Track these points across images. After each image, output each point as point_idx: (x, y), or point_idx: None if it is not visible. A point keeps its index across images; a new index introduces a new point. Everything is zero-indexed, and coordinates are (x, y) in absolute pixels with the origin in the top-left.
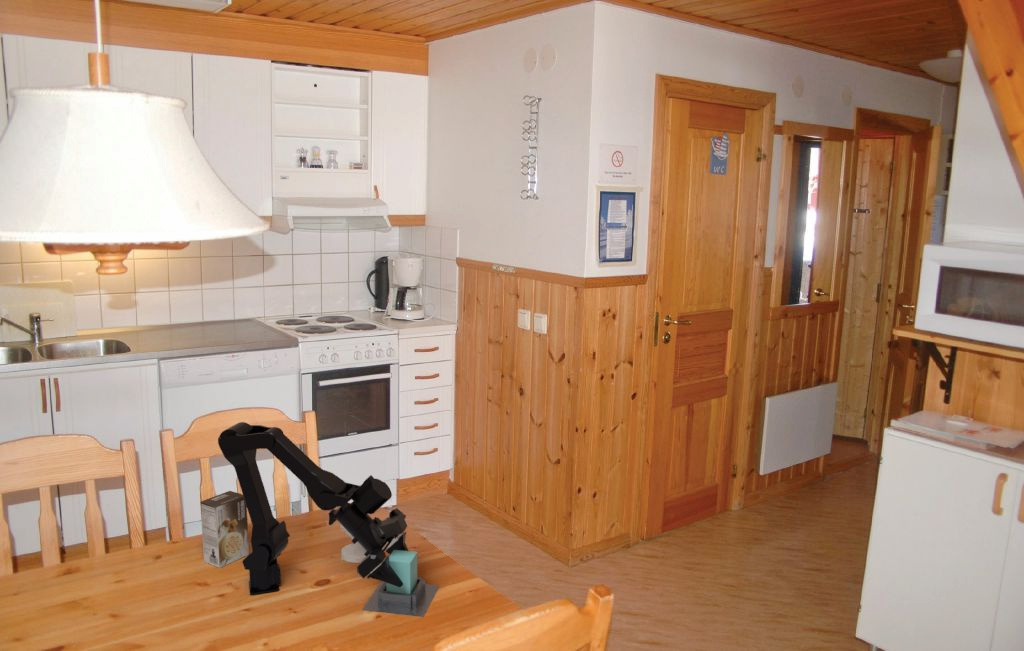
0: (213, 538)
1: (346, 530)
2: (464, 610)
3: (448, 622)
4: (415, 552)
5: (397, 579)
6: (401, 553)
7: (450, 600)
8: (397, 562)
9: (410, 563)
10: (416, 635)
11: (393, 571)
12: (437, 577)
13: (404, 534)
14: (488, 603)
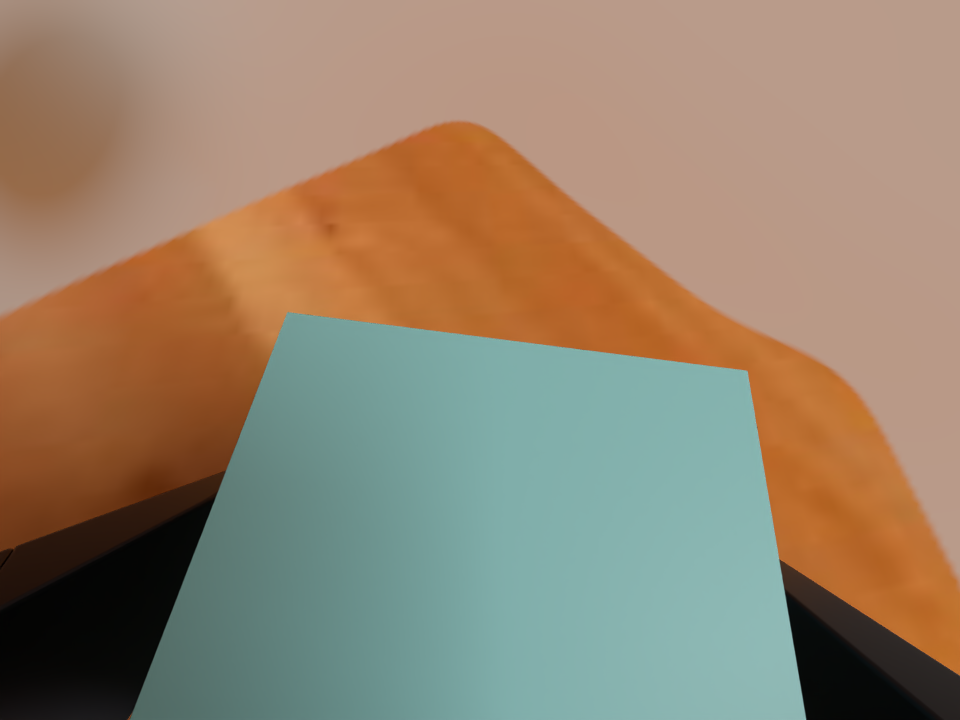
0: None
1: None
2: (521, 243)
3: (644, 299)
4: (306, 338)
5: (836, 601)
6: (339, 644)
7: (427, 307)
8: (783, 662)
9: (714, 377)
10: (818, 436)
11: (949, 700)
12: (130, 402)
13: None
14: (449, 164)
